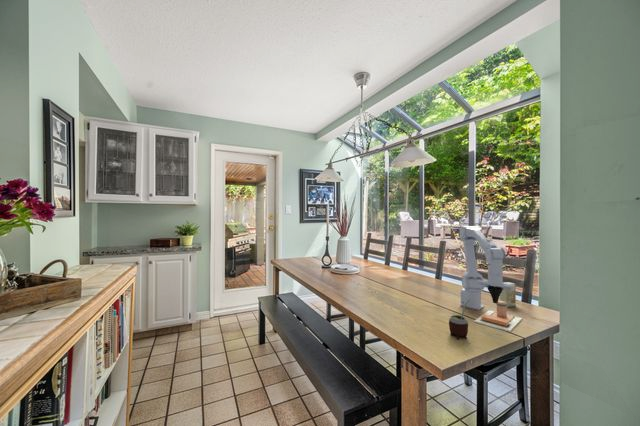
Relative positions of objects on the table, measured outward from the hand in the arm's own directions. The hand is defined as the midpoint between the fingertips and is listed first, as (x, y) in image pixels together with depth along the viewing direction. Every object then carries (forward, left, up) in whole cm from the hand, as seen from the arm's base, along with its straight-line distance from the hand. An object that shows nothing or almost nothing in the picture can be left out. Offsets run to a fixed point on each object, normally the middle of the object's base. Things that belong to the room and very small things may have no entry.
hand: (495, 302), depth 123 cm
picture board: (0, +4, -9) cm, 10 cm away
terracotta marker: (0, +9, -9) cm, 12 cm away
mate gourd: (-6, -26, -10) cm, 29 cm away
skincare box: (-3, +32, -10) cm, 33 cm away
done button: (0, -1, -8) cm, 8 cm away
